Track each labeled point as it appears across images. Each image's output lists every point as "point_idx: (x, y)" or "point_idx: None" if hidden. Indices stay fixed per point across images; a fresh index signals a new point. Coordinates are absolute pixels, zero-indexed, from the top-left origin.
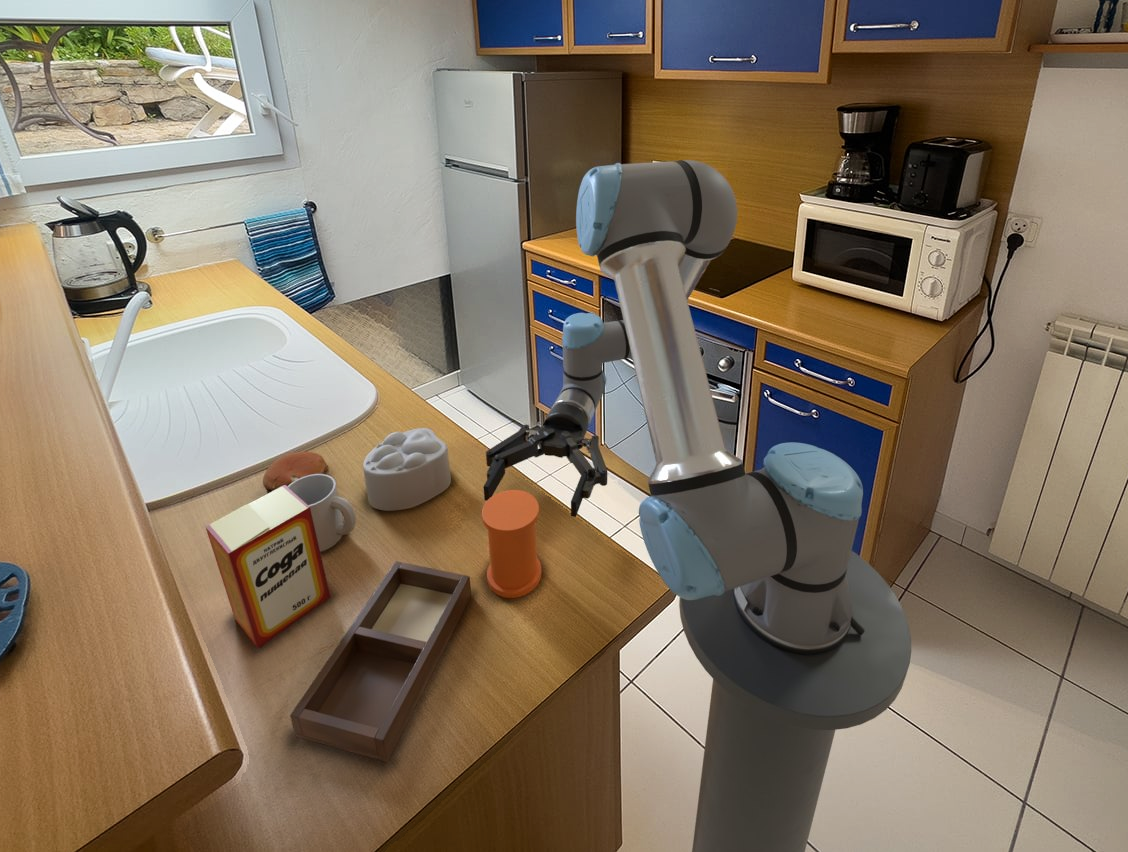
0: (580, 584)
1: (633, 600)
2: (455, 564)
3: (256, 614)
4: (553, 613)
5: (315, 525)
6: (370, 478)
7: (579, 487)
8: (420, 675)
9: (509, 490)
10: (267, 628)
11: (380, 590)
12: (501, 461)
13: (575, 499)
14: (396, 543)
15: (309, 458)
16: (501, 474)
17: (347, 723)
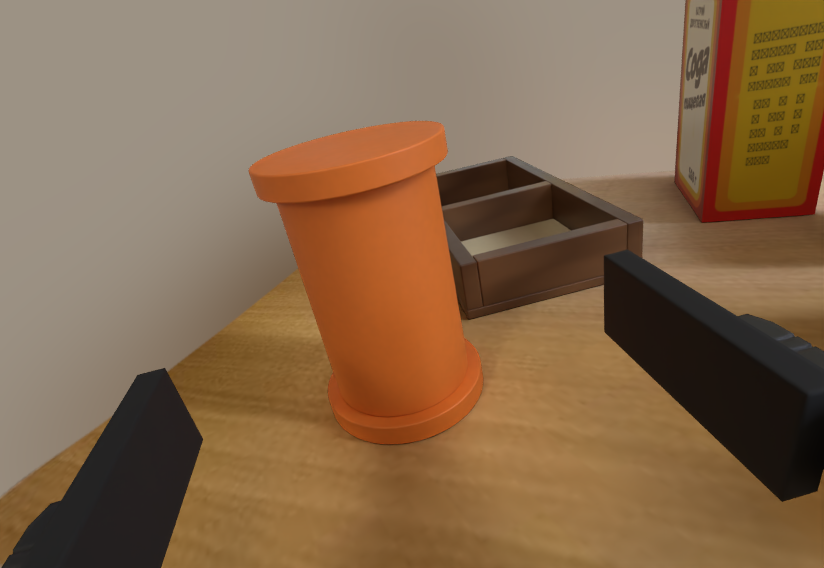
0: (215, 447)
1: (59, 477)
2: (575, 340)
3: (680, 125)
4: (274, 370)
5: None
6: None
7: (99, 458)
8: None
9: (393, 149)
10: (679, 165)
11: (590, 200)
12: (793, 371)
13: (137, 384)
14: (785, 304)
15: None
16: (729, 414)
17: (450, 172)
